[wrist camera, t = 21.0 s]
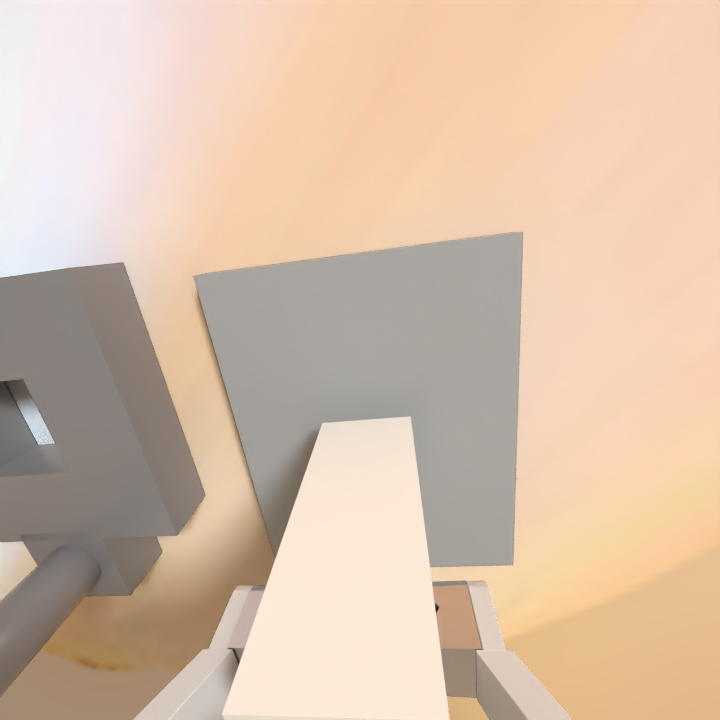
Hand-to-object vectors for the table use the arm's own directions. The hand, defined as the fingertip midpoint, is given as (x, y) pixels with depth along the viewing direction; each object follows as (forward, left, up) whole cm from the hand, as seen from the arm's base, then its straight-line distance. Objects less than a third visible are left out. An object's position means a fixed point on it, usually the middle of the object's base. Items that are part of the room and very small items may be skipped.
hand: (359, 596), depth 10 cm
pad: (0, 0, -9) cm, 9 cm away
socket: (-18, +1, -9) cm, 20 cm away
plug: (0, 0, -7) cm, 7 cm away
